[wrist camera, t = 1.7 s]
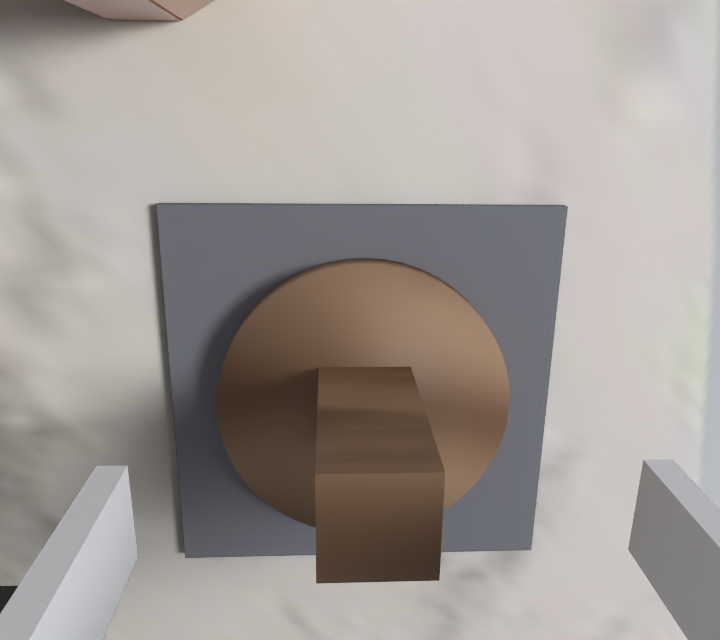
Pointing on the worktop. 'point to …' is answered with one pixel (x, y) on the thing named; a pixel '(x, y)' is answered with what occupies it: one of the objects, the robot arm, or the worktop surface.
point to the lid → (364, 411)
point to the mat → (331, 243)
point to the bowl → (142, 8)
